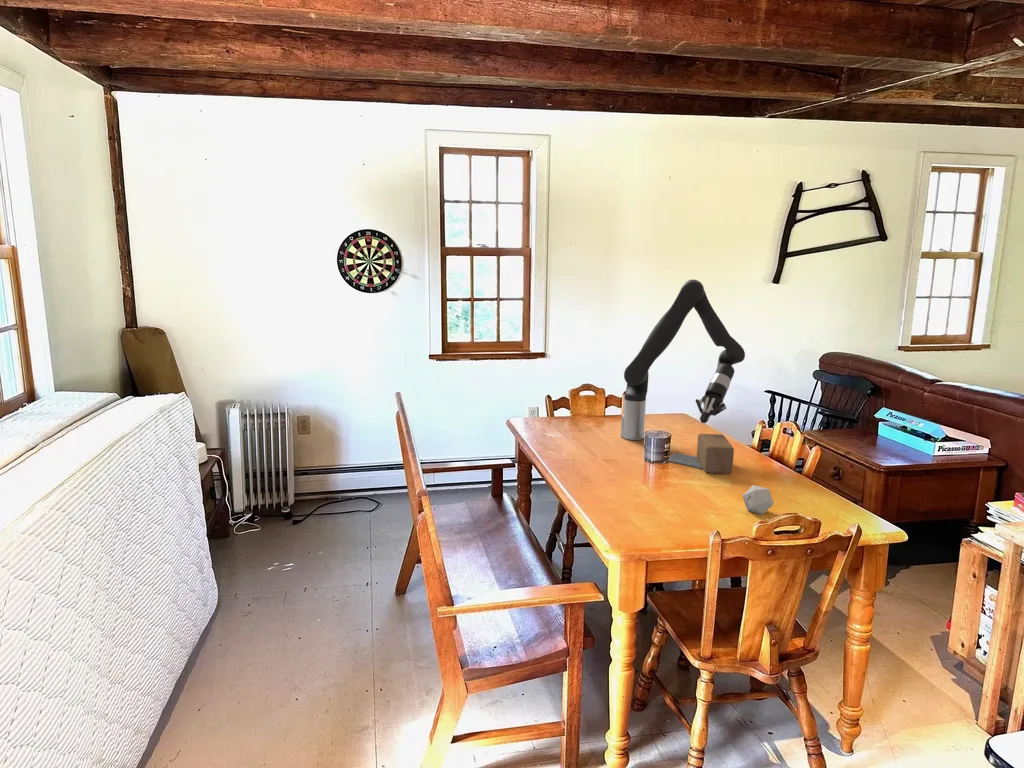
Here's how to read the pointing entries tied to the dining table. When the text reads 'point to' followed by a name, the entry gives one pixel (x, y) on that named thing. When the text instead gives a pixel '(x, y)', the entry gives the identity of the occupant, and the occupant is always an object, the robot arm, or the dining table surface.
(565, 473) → the dining table surface
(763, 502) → the die
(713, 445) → the wooden block
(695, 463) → the mat
